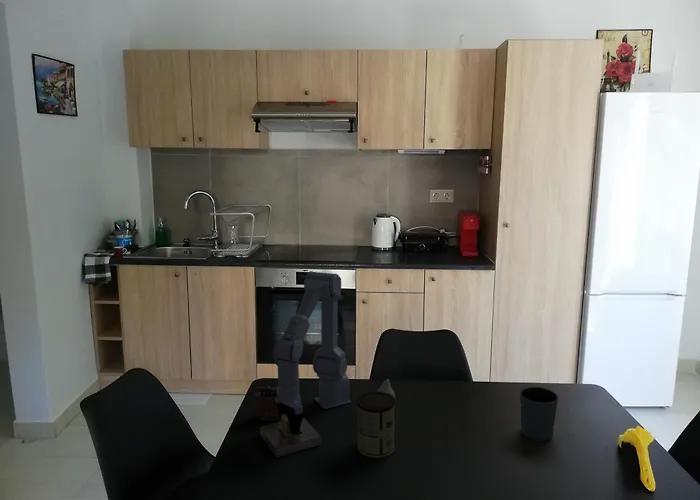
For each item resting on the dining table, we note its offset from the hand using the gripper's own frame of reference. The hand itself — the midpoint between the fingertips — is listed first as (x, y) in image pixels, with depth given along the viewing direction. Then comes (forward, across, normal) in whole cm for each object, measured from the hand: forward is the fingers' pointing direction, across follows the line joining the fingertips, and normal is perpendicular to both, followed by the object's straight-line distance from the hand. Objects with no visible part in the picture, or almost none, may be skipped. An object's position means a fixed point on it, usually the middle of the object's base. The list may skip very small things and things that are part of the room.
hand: (289, 427), depth 147 cm
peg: (+4, 0, 0) cm, 4 cm away
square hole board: (+4, 0, 0) cm, 4 cm away
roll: (+4, +1, +31) cm, 31 cm away
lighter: (+4, -15, -1) cm, 16 cm away
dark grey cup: (+4, +31, +63) cm, 70 cm away
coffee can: (+4, +15, +19) cm, 25 cm away
